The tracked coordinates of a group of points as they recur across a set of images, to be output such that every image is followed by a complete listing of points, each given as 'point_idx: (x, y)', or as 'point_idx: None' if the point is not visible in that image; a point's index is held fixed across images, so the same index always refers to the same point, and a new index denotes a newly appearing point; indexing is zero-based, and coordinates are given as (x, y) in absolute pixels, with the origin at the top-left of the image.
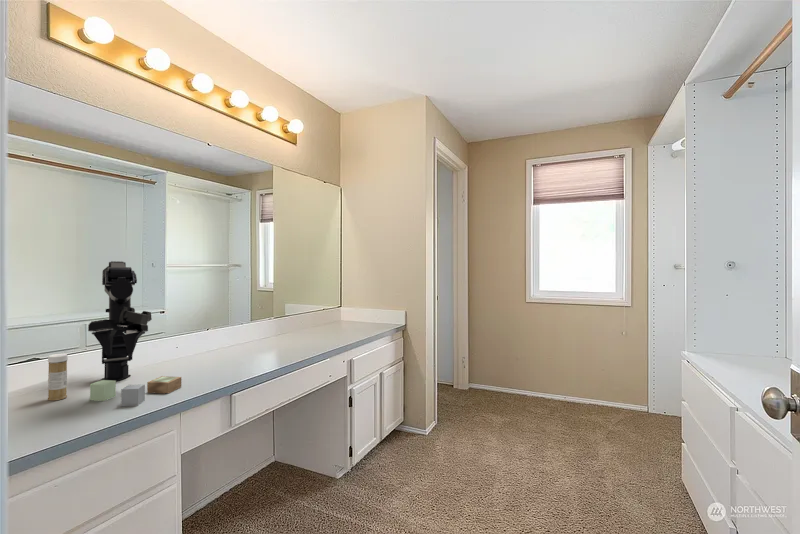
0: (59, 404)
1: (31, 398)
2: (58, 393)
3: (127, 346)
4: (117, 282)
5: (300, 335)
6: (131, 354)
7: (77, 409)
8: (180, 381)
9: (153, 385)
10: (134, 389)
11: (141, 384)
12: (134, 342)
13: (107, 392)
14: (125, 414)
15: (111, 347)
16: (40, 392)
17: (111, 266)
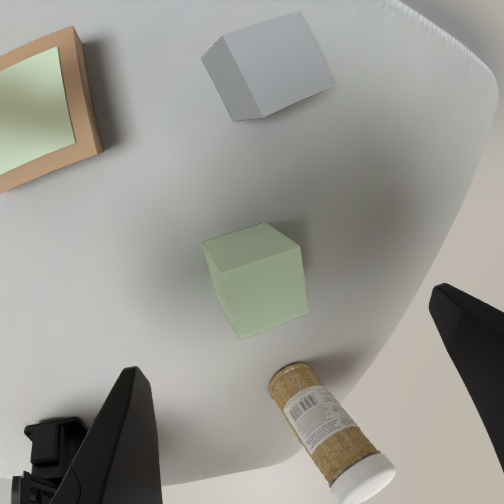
0: (328, 321)
1: None
2: (312, 376)
3: (153, 473)
4: None
5: None
6: (136, 366)
7: (354, 219)
8: None
9: (90, 114)
10: (307, 28)
11: (234, 49)
12: (101, 483)
13: (260, 238)
14: (345, 16)
15: (486, 314)
16: (259, 453)
17: None
